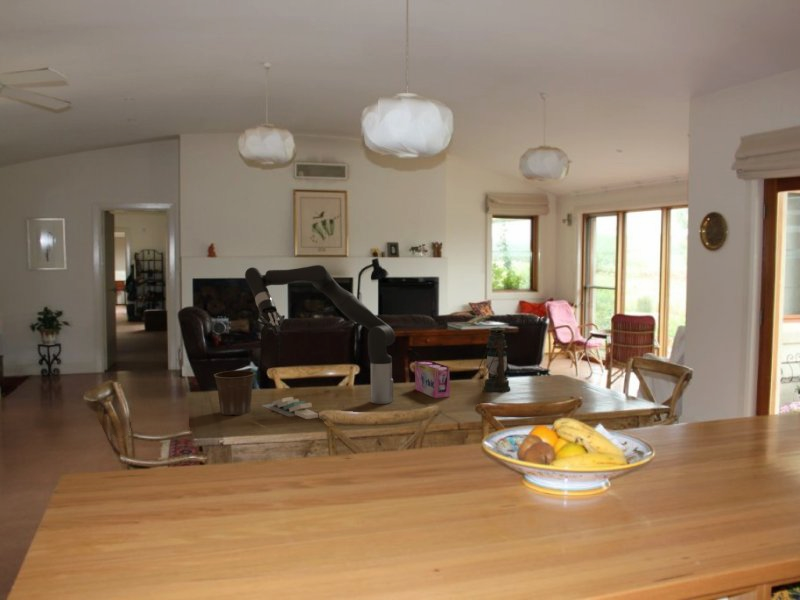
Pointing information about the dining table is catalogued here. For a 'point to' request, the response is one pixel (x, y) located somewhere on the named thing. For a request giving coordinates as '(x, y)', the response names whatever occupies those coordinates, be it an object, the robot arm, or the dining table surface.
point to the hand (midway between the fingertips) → (277, 333)
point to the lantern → (496, 362)
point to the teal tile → (293, 405)
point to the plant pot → (234, 391)
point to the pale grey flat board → (280, 410)
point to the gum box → (432, 378)
